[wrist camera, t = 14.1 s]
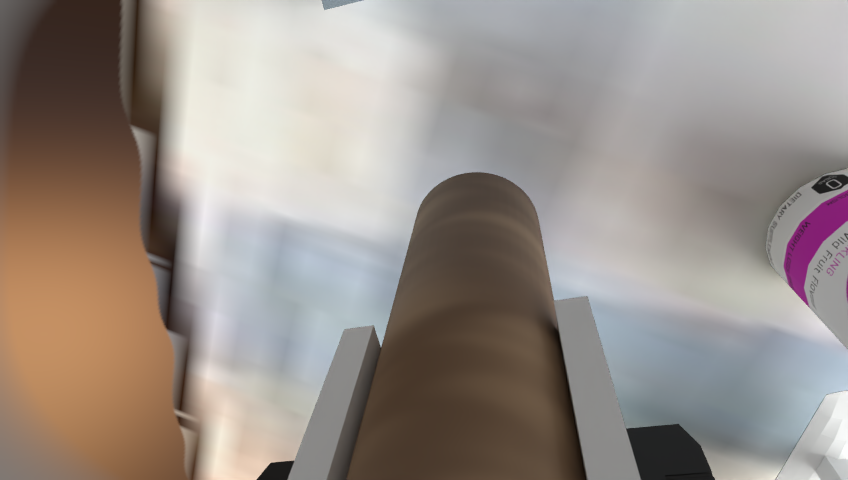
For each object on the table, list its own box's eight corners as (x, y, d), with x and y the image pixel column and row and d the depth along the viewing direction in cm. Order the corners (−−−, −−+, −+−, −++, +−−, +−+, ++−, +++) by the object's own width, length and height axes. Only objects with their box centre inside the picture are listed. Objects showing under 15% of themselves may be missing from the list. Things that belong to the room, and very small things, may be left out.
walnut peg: (529, 161, 19) (660, 811, 5) (546, 273, 21) (679, 984, 6) (402, 185, 20) (178, 796, 5) (430, 290, 21) (319, 954, 7)
